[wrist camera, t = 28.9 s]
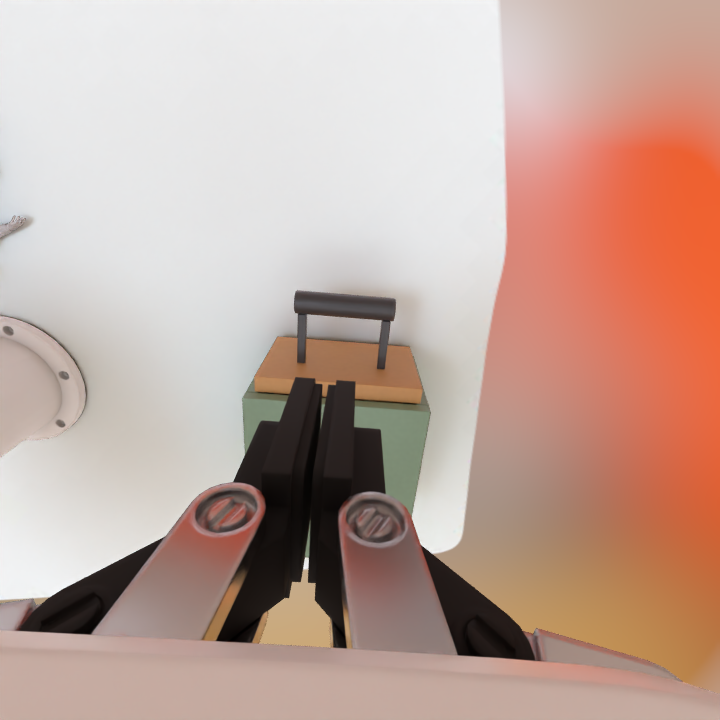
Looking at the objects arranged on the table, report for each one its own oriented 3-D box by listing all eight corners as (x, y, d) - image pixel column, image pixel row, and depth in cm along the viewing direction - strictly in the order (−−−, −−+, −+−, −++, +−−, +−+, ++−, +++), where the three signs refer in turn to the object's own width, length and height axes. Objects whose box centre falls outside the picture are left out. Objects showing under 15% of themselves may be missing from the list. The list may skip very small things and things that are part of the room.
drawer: (277, 273, 31) (251, 299, 24) (418, 285, 32) (435, 314, 24) (278, 462, 39) (258, 523, 32) (392, 469, 39) (398, 533, 32)
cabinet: (272, 344, 35) (241, 398, 26) (413, 355, 35) (431, 412, 26) (274, 474, 41) (249, 554, 32) (394, 482, 41) (403, 563, 32)
